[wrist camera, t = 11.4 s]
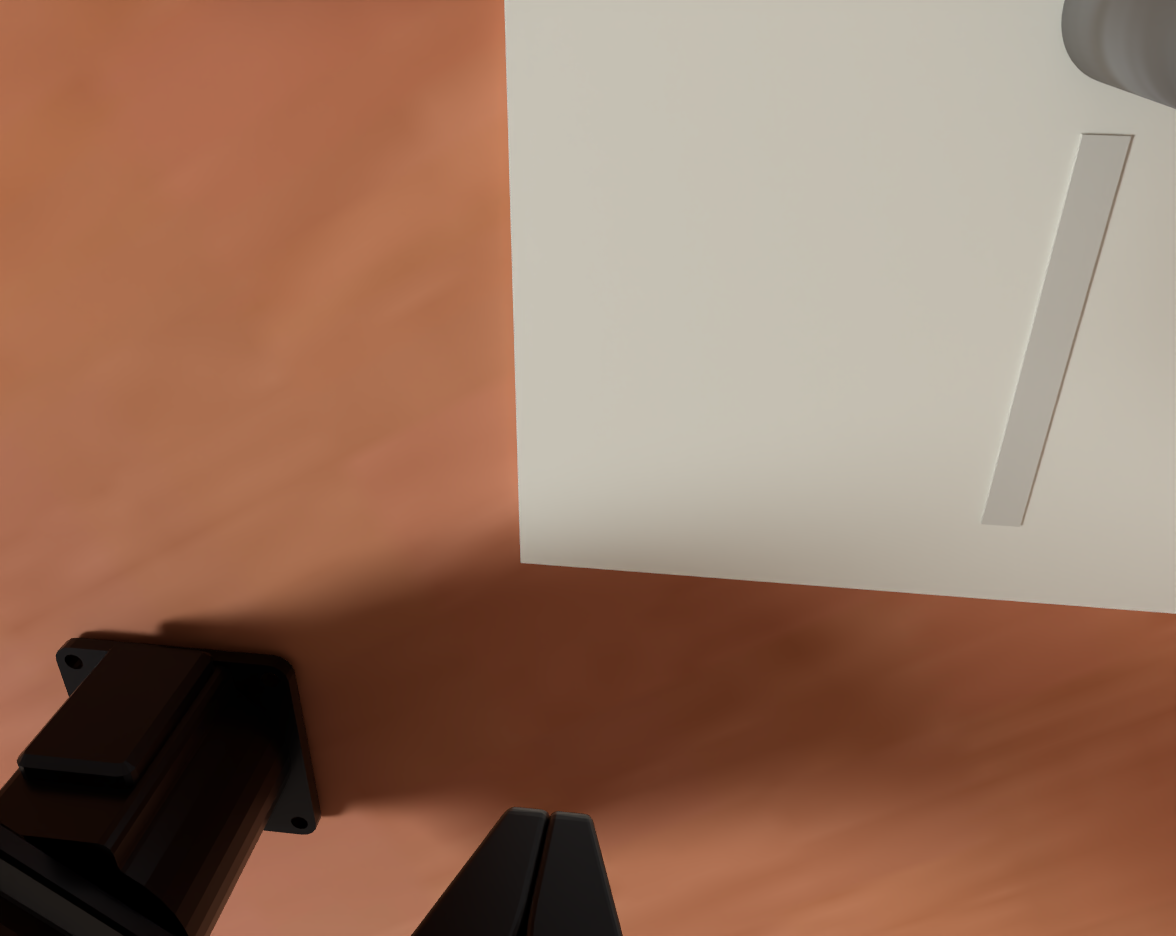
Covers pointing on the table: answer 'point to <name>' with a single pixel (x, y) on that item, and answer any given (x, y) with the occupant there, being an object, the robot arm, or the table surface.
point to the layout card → (841, 299)
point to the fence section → (1124, 44)
